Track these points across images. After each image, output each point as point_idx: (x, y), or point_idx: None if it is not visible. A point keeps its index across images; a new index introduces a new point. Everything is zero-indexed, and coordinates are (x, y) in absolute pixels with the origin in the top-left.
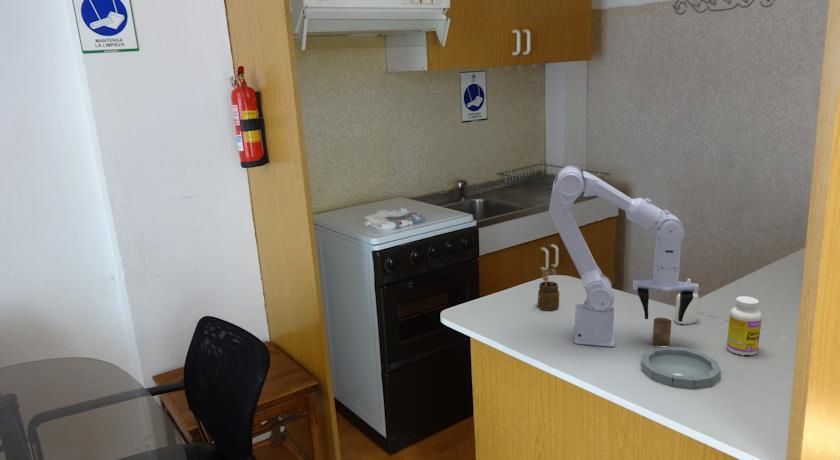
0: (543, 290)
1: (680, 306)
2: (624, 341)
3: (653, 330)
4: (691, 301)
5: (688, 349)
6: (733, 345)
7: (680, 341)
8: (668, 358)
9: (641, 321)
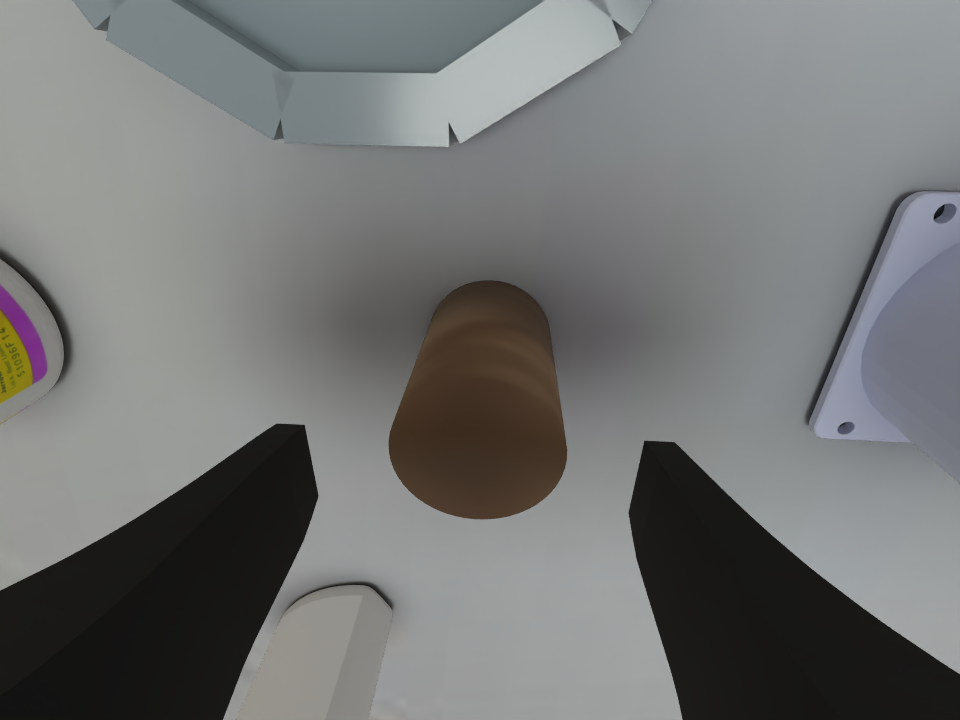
0: None
1: (217, 608)
2: (758, 330)
3: (557, 386)
4: None
5: (260, 113)
6: None
7: (359, 390)
8: None
9: (571, 600)
